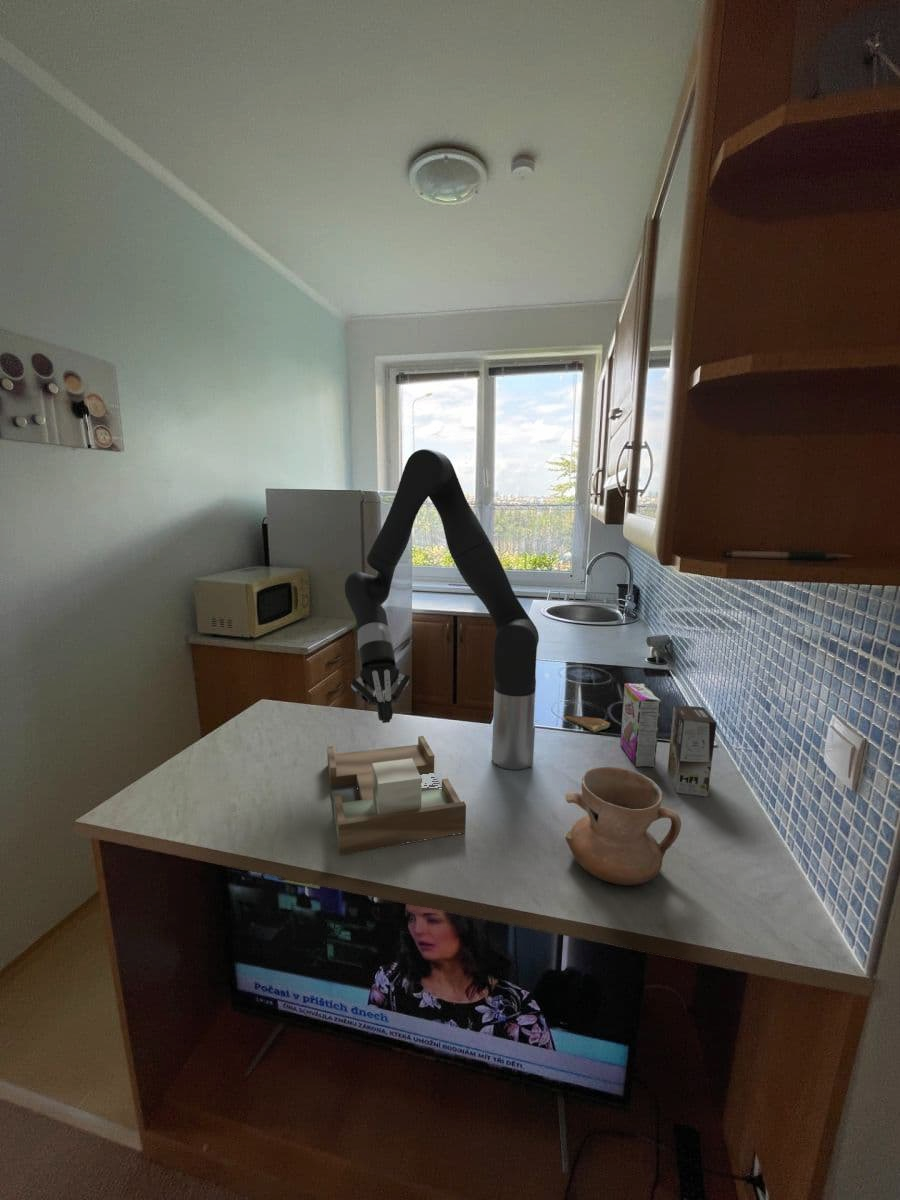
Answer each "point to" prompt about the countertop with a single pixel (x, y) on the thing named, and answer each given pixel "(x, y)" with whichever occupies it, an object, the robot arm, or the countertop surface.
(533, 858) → the countertop surface
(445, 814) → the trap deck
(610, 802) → the ceramic jug
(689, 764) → the coffee box
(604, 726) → the shard
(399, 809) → the block
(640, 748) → the candy bar box
